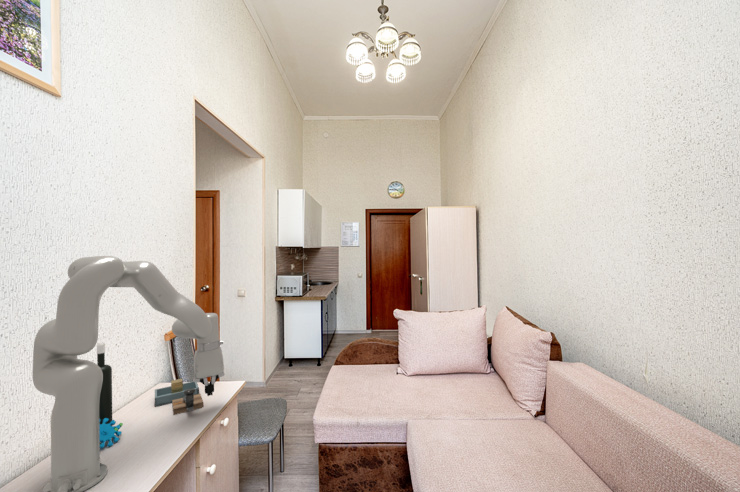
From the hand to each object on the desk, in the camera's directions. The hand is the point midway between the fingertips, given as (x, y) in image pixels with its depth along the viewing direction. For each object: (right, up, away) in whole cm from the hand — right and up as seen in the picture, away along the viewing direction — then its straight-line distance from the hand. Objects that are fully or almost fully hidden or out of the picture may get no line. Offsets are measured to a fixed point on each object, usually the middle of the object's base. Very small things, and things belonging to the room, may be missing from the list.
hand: (209, 394), depth 124 cm
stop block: (-20, -7, +13) cm, 25 cm away
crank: (-8, -4, 0) cm, 9 cm away
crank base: (-11, -7, +4) cm, 13 cm away
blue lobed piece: (-23, -7, -20) cm, 32 cm away
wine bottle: (-31, -7, -13) cm, 34 cm away
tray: (-21, -7, +13) cm, 26 cm away
